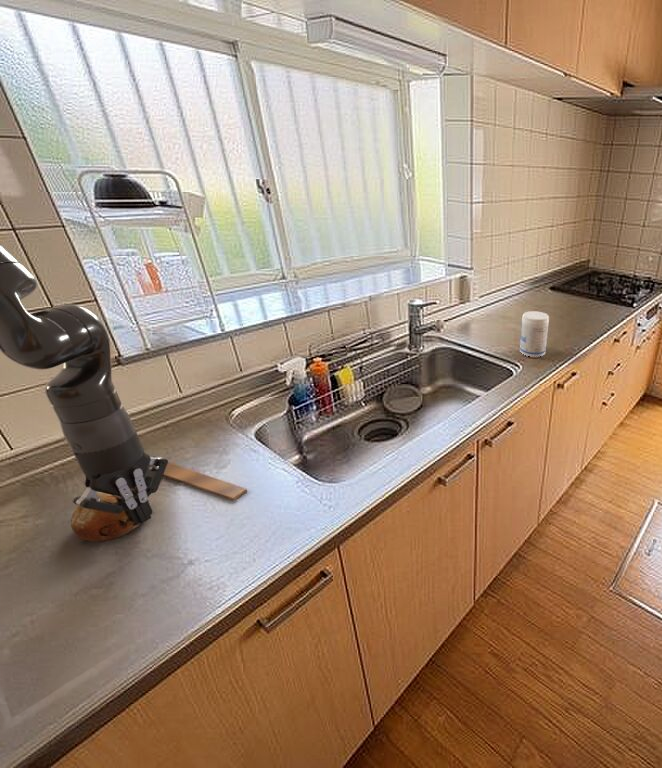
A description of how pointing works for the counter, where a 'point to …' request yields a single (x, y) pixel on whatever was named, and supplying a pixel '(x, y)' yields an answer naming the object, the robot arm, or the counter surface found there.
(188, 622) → the counter surface
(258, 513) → the counter surface
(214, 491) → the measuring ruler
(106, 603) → the counter surface
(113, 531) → the bread roll
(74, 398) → the robot arm
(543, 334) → the supplement tub
